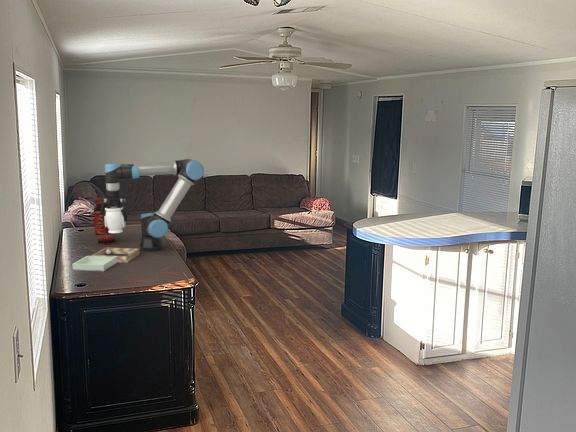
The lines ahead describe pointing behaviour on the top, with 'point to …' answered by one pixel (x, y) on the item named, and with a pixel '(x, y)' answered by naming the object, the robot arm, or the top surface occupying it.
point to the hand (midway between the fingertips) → (115, 226)
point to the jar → (114, 219)
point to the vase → (102, 225)
